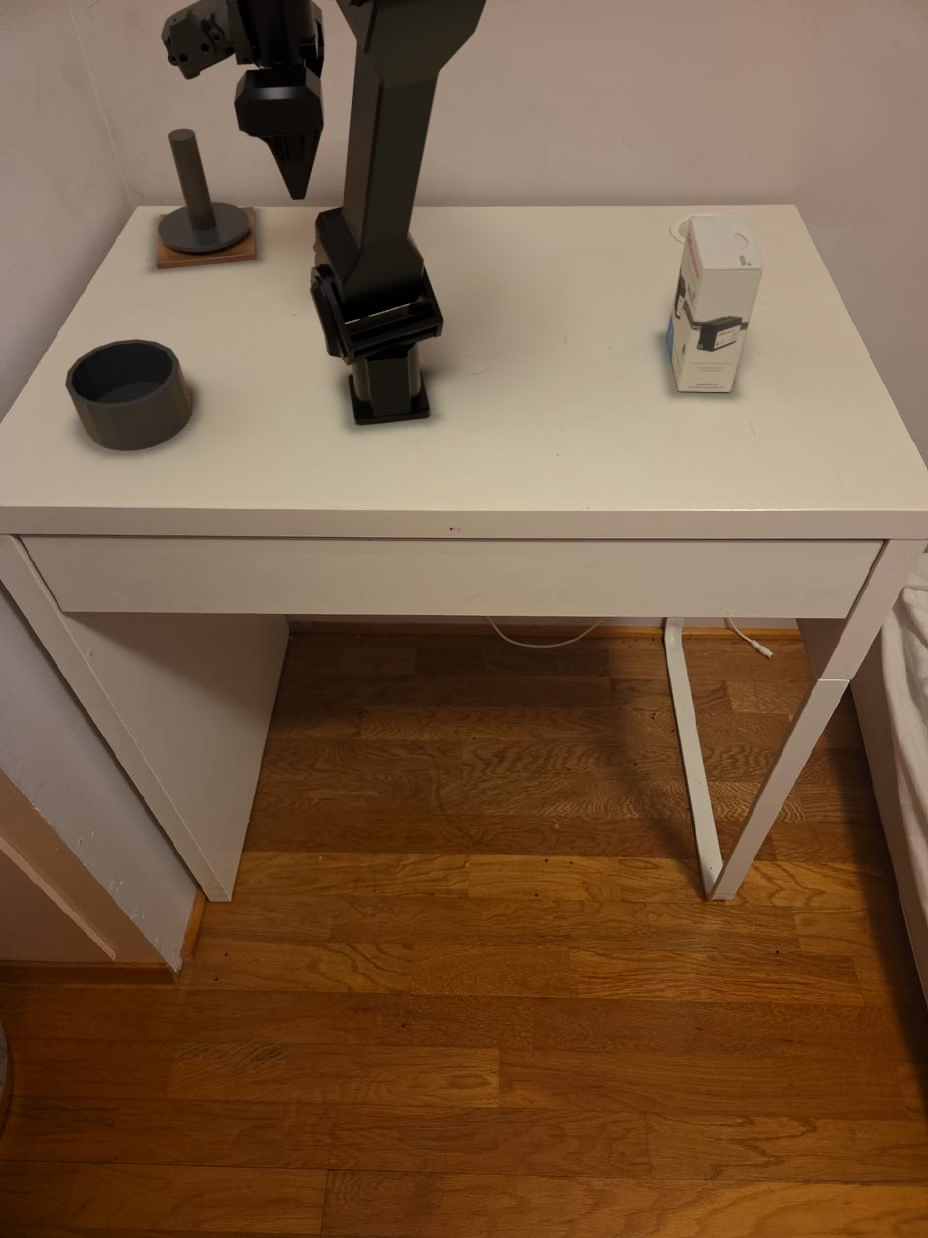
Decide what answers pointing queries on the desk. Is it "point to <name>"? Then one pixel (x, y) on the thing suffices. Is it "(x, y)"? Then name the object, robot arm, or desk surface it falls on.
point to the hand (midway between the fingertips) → (299, 172)
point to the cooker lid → (198, 205)
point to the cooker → (129, 394)
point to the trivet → (233, 252)
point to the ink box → (713, 302)
